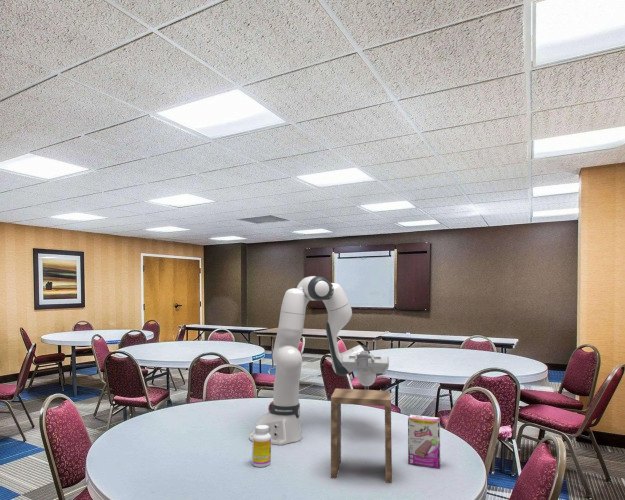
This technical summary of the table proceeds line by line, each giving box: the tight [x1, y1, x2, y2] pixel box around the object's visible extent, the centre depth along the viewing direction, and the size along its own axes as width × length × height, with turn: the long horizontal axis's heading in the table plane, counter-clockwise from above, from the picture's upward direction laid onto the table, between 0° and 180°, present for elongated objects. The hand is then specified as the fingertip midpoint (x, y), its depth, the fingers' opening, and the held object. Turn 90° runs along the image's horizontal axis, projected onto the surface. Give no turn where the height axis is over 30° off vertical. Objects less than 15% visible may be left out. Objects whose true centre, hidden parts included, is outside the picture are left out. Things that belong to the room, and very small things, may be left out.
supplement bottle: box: [251, 425, 272, 468], centre depth 147 cm, size 7×7×13 cm
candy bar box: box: [407, 414, 441, 469], centre depth 149 cm, size 11×5×16 cm, turn 71°
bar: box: [357, 351, 368, 366], centre depth 163 cm, size 4×20×4 cm, turn 170°
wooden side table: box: [330, 387, 393, 484], centre depth 142 cm, size 20×14×26 cm
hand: (364, 354), depth 169 cm, fingers closed on bar, 3 cm apart
